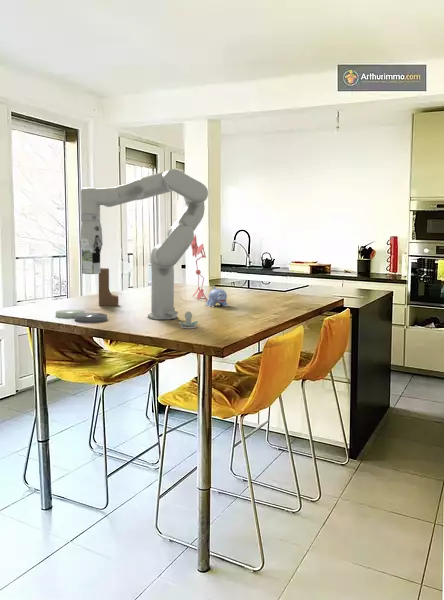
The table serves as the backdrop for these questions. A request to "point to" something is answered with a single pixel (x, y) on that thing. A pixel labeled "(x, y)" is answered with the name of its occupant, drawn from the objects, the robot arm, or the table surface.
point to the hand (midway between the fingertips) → (91, 261)
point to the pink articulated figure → (196, 250)
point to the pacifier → (188, 321)
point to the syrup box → (88, 259)
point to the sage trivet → (68, 313)
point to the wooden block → (106, 290)
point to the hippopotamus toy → (217, 297)
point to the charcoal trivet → (90, 317)
